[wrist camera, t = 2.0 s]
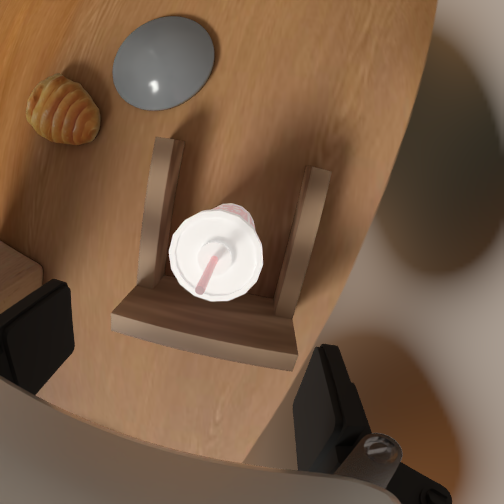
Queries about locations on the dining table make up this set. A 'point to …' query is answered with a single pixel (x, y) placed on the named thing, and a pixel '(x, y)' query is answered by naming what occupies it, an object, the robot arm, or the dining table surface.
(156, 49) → the coaster
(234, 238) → the beverage cup
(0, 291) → the block
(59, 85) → the pastry
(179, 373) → the dining table surface
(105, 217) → the dining table surface
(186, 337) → the rack
